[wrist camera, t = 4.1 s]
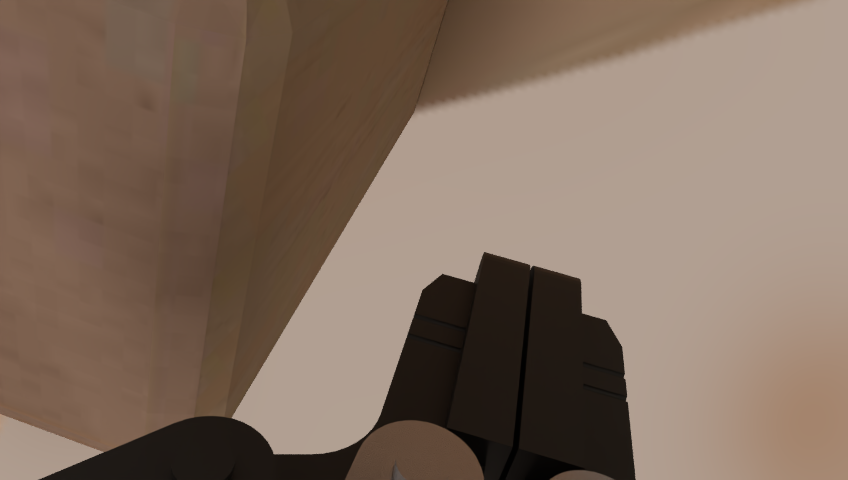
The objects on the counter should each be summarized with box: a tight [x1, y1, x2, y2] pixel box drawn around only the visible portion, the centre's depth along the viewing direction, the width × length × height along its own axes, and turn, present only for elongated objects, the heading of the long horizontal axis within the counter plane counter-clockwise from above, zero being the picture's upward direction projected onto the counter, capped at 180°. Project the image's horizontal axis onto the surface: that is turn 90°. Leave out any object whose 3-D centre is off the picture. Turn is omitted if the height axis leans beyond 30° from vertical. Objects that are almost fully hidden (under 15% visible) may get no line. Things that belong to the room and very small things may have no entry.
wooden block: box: [0, 0, 448, 452], centre depth 18 cm, size 10×10×20 cm
